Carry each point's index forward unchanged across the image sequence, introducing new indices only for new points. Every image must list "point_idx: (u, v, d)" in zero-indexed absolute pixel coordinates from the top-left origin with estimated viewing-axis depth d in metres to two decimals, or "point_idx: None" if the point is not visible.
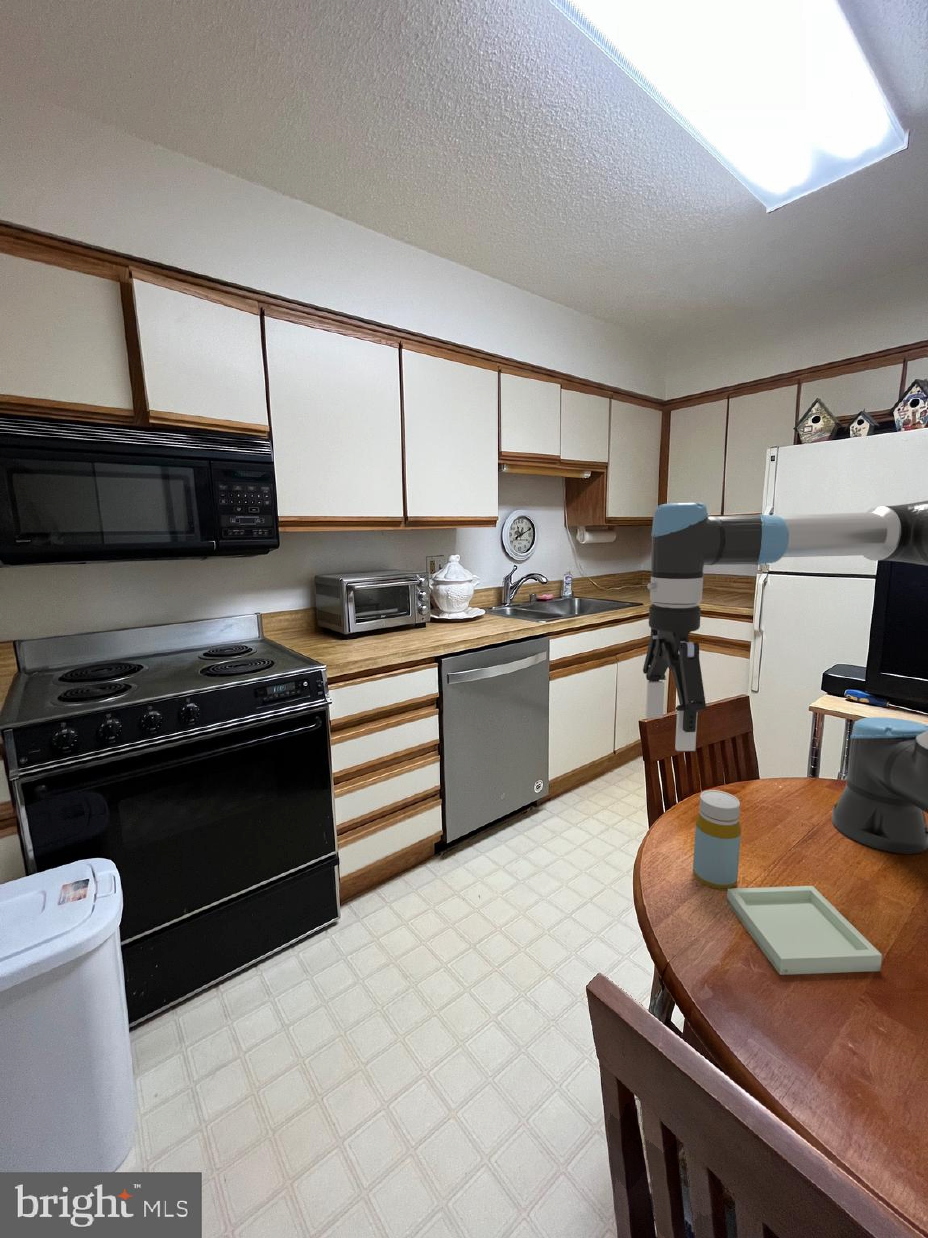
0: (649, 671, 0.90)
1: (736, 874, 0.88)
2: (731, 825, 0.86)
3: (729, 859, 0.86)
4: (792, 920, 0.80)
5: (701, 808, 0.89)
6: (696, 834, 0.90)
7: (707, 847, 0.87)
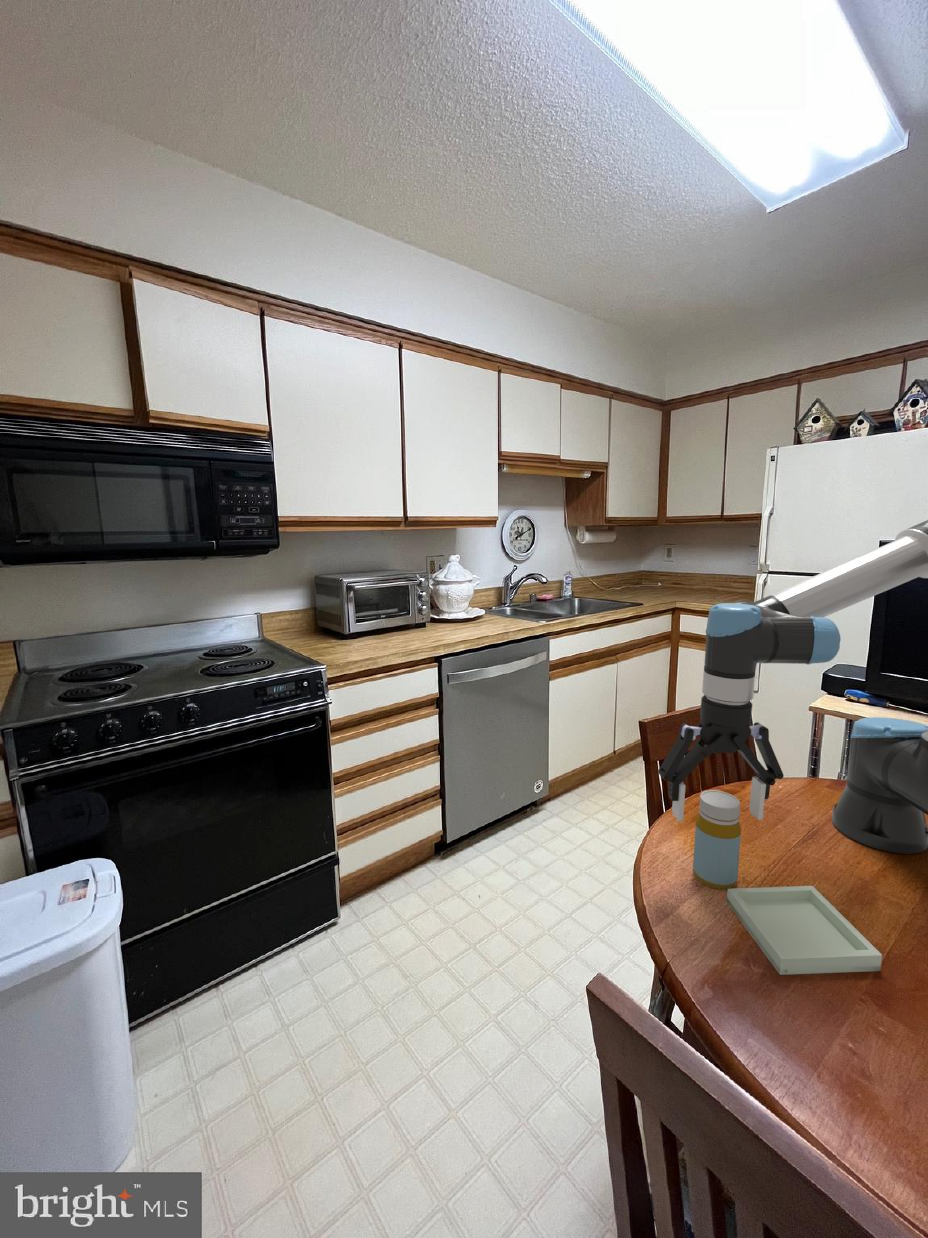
0: None
1: (736, 874, 0.88)
2: (731, 825, 0.86)
3: (729, 859, 0.86)
4: (792, 920, 0.80)
5: (701, 808, 0.89)
6: (696, 834, 0.90)
7: (707, 847, 0.87)
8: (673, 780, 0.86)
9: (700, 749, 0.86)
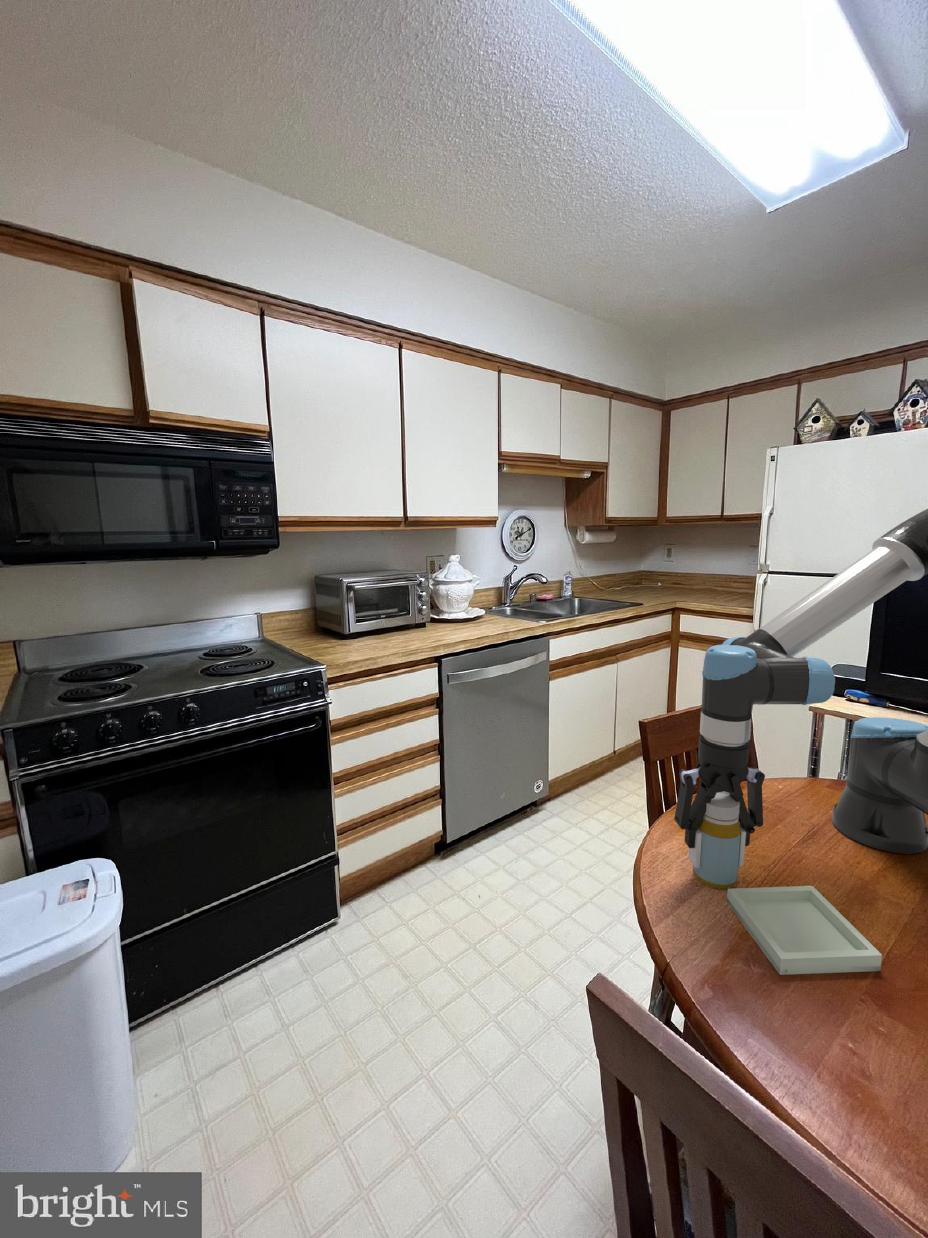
0: None
1: (736, 874, 0.88)
2: (731, 825, 0.86)
3: (729, 859, 0.86)
4: (792, 920, 0.80)
5: None
6: None
7: (706, 847, 0.87)
8: (689, 828, 0.88)
9: (704, 792, 0.87)
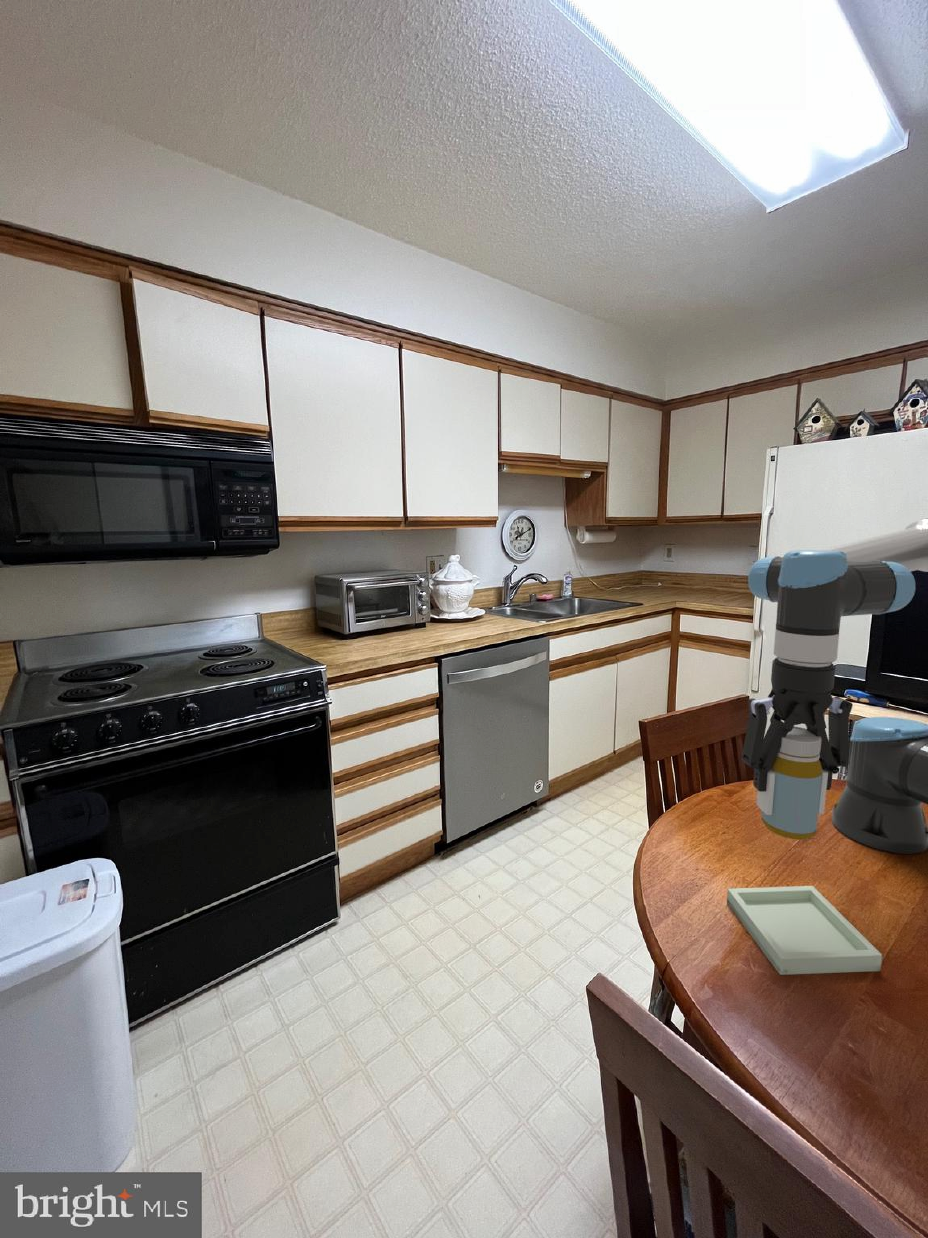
0: None
1: (816, 821, 0.75)
2: (811, 762, 0.73)
3: (809, 802, 0.73)
4: (792, 920, 0.80)
5: None
6: None
7: (781, 790, 0.74)
8: (761, 767, 0.75)
9: (778, 725, 0.74)
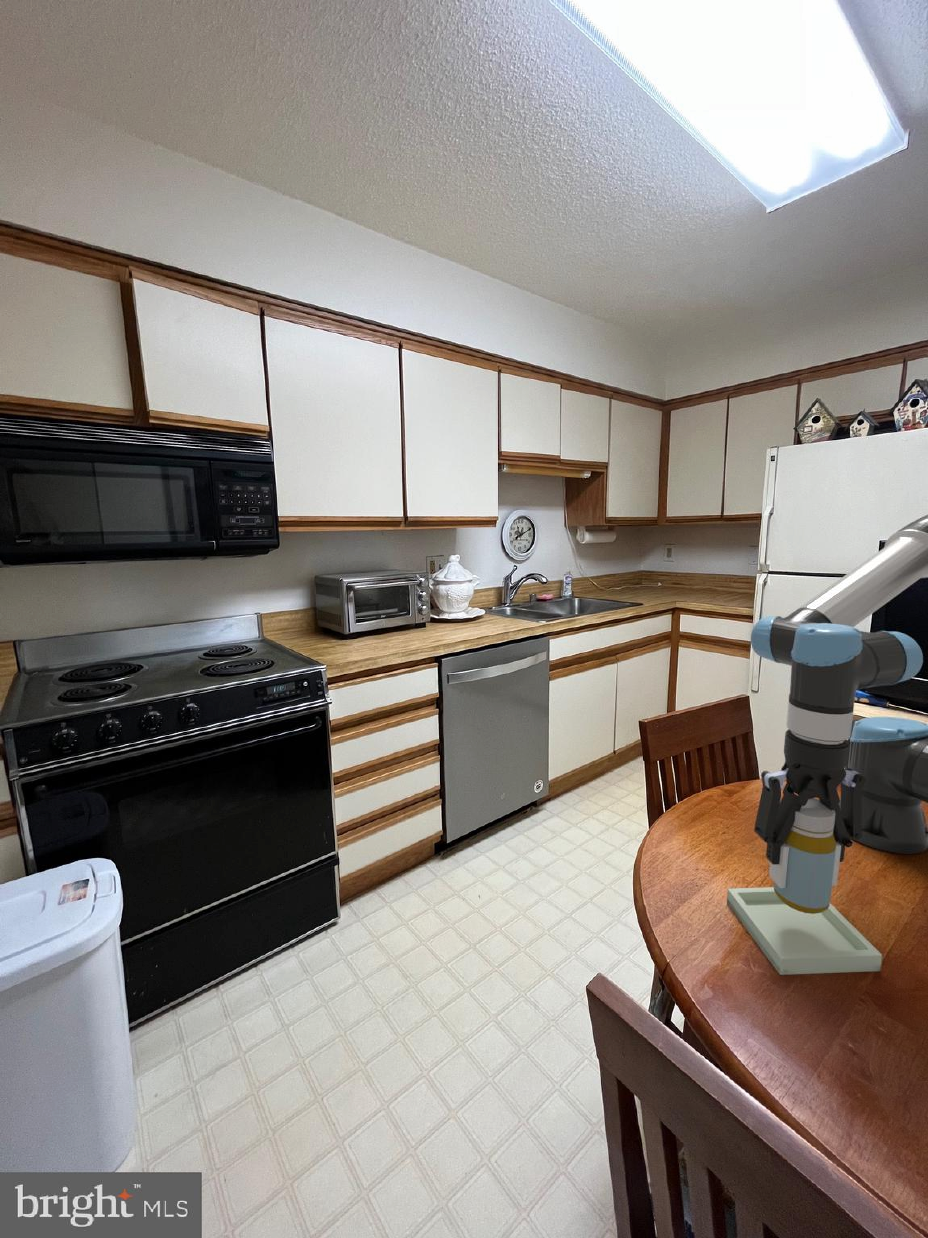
0: None
1: (830, 895, 0.74)
2: (826, 838, 0.72)
3: (823, 878, 0.73)
4: (792, 920, 0.80)
5: None
6: None
7: (795, 864, 0.74)
8: (774, 841, 0.74)
9: (792, 799, 0.74)
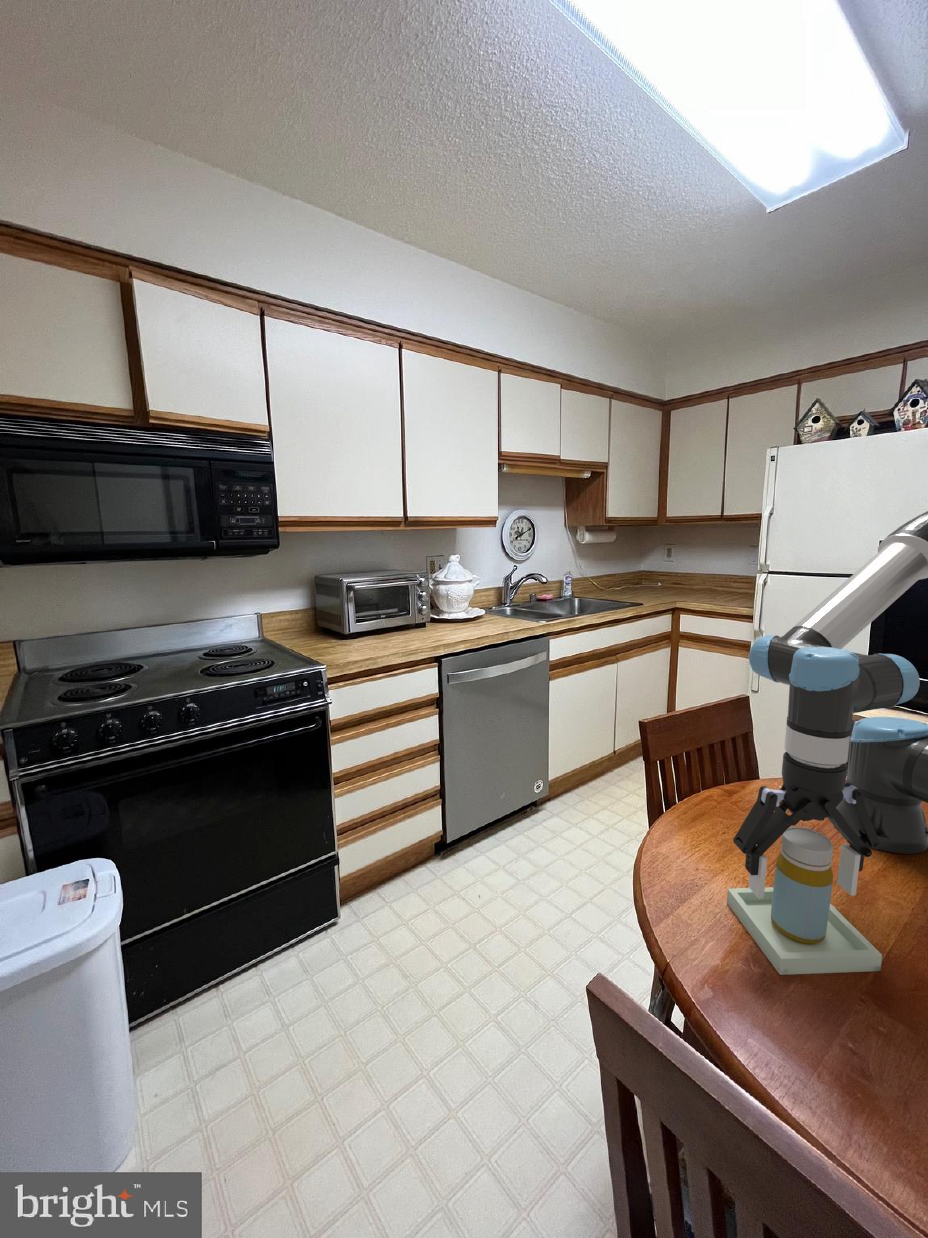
0: None
1: (826, 927, 0.75)
2: (823, 871, 0.73)
3: (820, 910, 0.73)
4: None
5: (785, 849, 0.76)
6: (777, 878, 0.77)
7: (792, 895, 0.74)
8: (752, 852, 0.74)
9: (783, 816, 0.74)
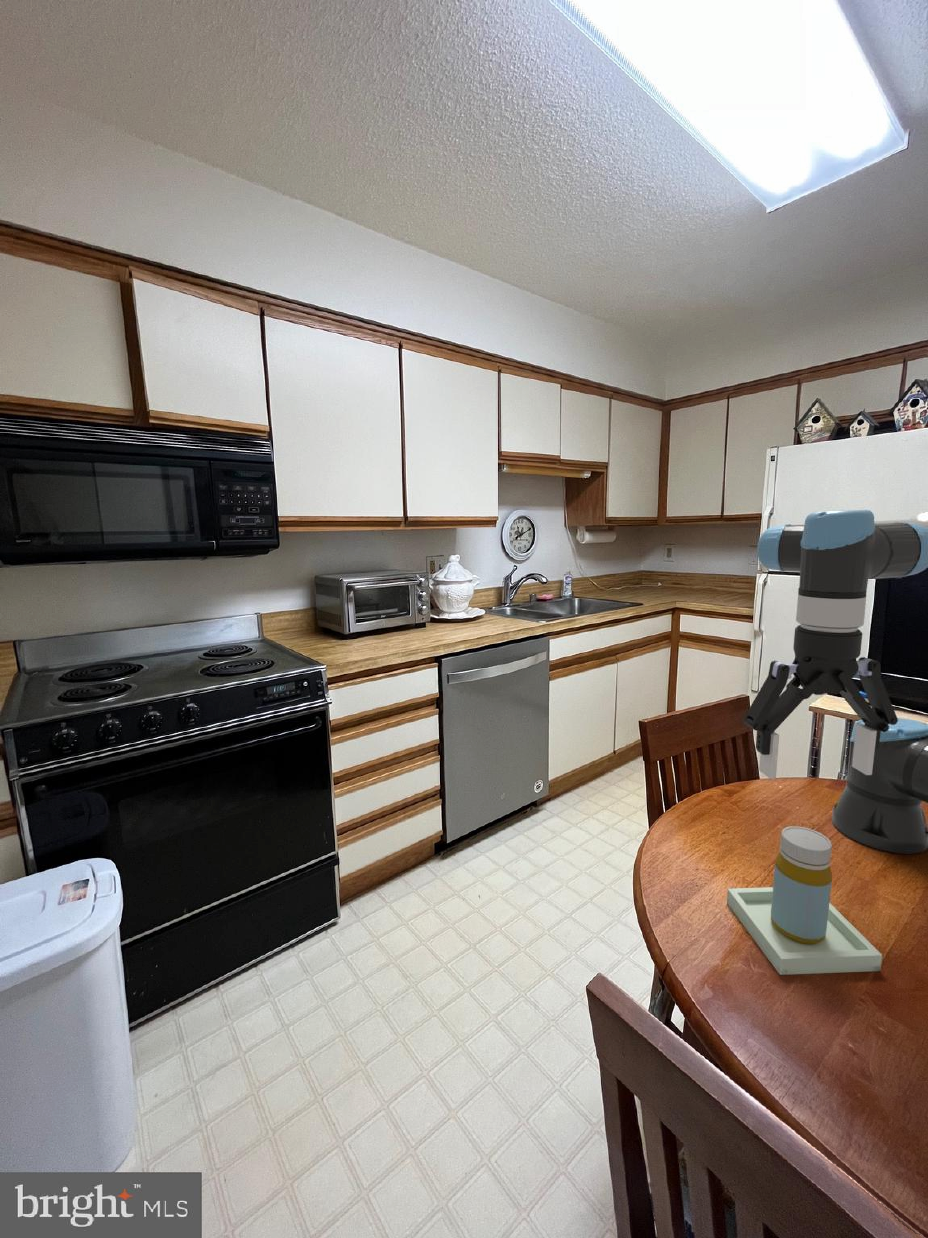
0: None
1: (826, 926, 0.75)
2: (822, 870, 0.73)
3: (819, 909, 0.73)
4: None
5: (784, 848, 0.76)
6: (777, 878, 0.77)
7: (791, 895, 0.75)
8: (764, 729, 0.71)
9: (796, 690, 0.71)
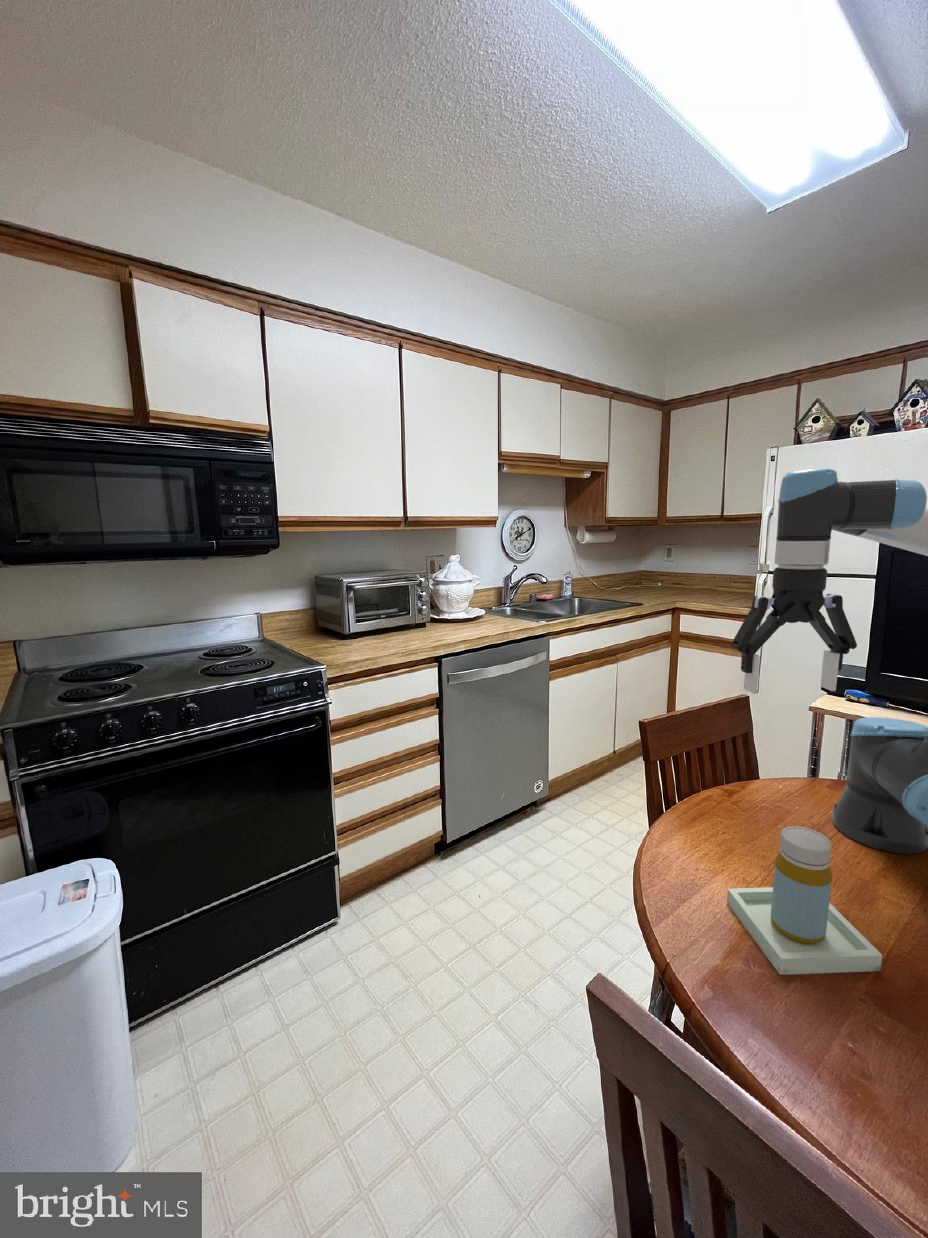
0: None
1: (826, 926, 0.75)
2: (822, 870, 0.73)
3: (819, 909, 0.73)
4: None
5: (783, 848, 0.76)
6: (776, 878, 0.77)
7: (791, 895, 0.75)
8: (747, 651, 0.87)
9: (773, 619, 0.87)
